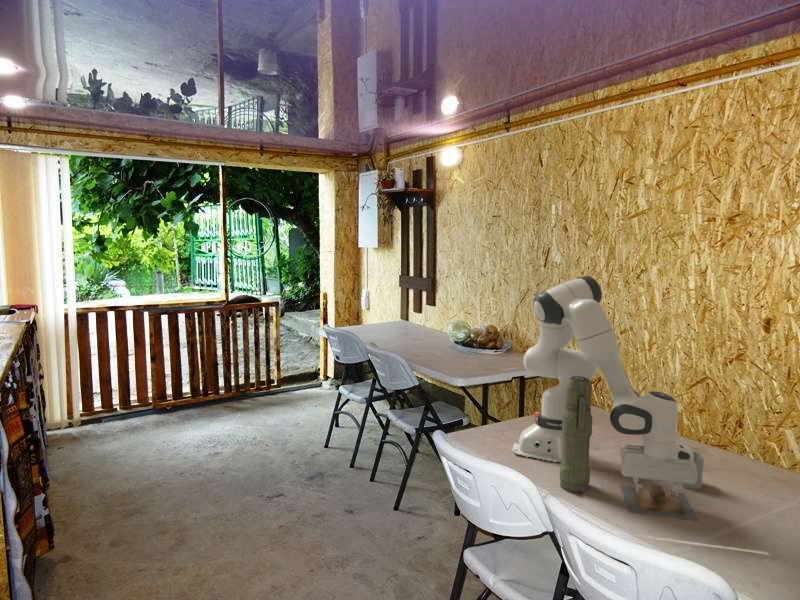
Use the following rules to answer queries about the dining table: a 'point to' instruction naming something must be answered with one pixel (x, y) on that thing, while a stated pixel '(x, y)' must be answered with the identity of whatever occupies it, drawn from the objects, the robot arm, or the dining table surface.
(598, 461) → the dining table surface
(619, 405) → the robot arm
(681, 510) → the lid
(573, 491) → the thermos
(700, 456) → the cup
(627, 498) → the mat
